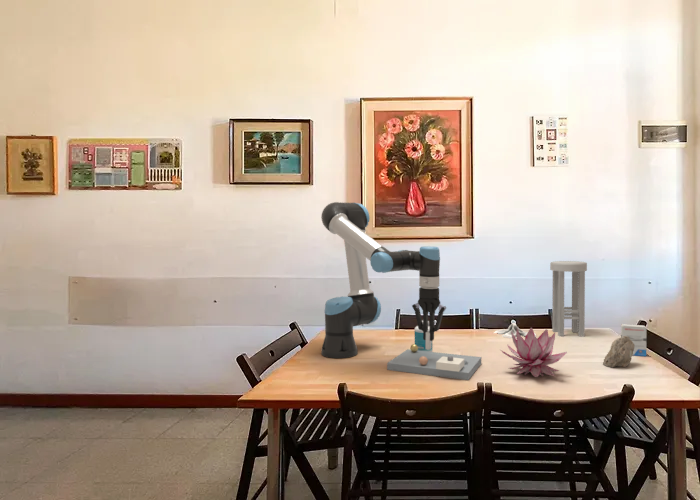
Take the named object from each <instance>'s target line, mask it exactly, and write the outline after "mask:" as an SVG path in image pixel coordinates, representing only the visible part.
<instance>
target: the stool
mask: <svg viewBox="0 0 700 500" xmlns="http://www.w3.org/2000/svg"><path fill="white" fill-rule="evenodd" d="M549 266H550V269H549V270H550V271H552V315H551V316H552V318H551V320H552V322H551V325H552V327H551V328H552V332H553V333H557V336H559V337H565V320H571V333H577V336H578V337H582V338H583V337H585V326H586V325H585V322H586V321H585V318H586V317H585V316H586V315H585V313H586V312H585V311H586V310H585V308H586V306H585V303H586V301H585V300H586V299H585V298H586V296H585V295H586V287H585V286H586V282H585V281H586V271H587V270H588V263H587V262H586V261H577V260H557V261H556V260H555V261H550V265H549ZM565 272H568V273H569V272H570V273H571V306H565Z"/></svg>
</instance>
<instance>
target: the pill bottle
mask: <svg viewBox="0 0 700 500" xmlns="http://www.w3.org/2000/svg"><path fill="white" fill-rule="evenodd" d="M422 323H423V319H422ZM428 331H430V320H428ZM414 344H416V345H417V346H418V350H419V351H428V352H433V343H432V344H431V349H430V350H427V349H426V340H424V339H423V331H422V330H419V328H418V325H416V326H415V327H414Z"/></svg>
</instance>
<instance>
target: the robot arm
mask: <svg viewBox="0 0 700 500" xmlns="http://www.w3.org/2000/svg"><path fill="white" fill-rule="evenodd" d="M370 218H371V217H370V213H369V210H368V208H367V207H366V206H364V204H362V203H359V202H339V201H335V202H331V203H328V204H327V205H326V206H325V207H324V208H323V209H322V211H321V221H322V225H323V227H324V228H325V229H326V230H328V231H329V232H330V233H331V234H333V235H338V236H339V237H340V238H341V239H342V240H343V241H344V249H345V258H346V259H345V260H346V265H347V266H346V267H347V274H348V275H347V276H348V281H349V283H348V284H349V289H350V290H349V291H350V292H349V293H348V294H347V296H336V297H332V298H329V299H328V300H327V301H326V302H325V305H324V319H325V320H324V322H325V323H324V329H325V333H324V334H325V335H324V336H325V337H324V340H323V342H322V346H321V355H322V356H323V357H324V358H331V359H344V358H352V357H354V356H356V355H358V347H357V343H356V341H355V337H354V327H357V326H362V325H370V324H372V323H374V322H376V321H377V320H378V319H379V317H380V315H381V312H382V305H381V302H380V300H379V299H378V297H377V296H375V293H374V291H373V290H372V289H371V288H370V282H369V281H370V280H369V274H368V273H369V272H368V265H367V260H368V261H369V262H370V266H371V269H372V270H373V271H374V272H375V273H382V274H384V273H385V274H386V273H390V272H391V273H392V272H400V271H417V272H418V271H419V272H418V273H419V275H418V276H419V277H418V278H419V279H418V280H419V288H418V300H417V302H416V303H414V304H411V307H412V309H413V311H414V314H415V318H416V324H417V326H418V328H419V330H422V331H423V339H424V340H426V349H427V350H430V349H431V344H432V345H433V341H434V340H435V332H438V331H439V330H440V327H441V323H442V319H443V316H444V313H445V311H446V309H447V307H446V305H445V306H444V305H443V304H441V301H440V288H439V287H440V266H441V265H440V264H441V263H440V262H441V256H440V248H439V247H438V246H430V245H428V246H420V247H419V250H417V251H416V250H408V249H401V250H400V249H399V250H398V251H390V250H389V249H387V248H386V247H384V246H383V245H382V244H380V243H379V242H378V241H376V240H375V239H374V238H373V237H371V236H370V235H369V234H368V233H366V231H367V230H366V228H367V227H368V226H369V222H370ZM420 308H421V310H422V315H421V310H420ZM437 309H438V313H437V317H436V315H435V314H436V310H437ZM435 317H436V318H435ZM435 319H436V321H435ZM422 320H423V323H422ZM428 321H429V325H428ZM428 326H430V331H428Z"/></svg>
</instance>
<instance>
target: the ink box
mask: <svg viewBox="0 0 700 500" xmlns="http://www.w3.org/2000/svg"><path fill="white" fill-rule="evenodd" d="M620 332H621V333H620V337H622V336H628V337H629V338H630V340H632V342H633V343H634V345H635V346H634V351H633V354H632V356H633V357H634V356H636V357H647V339H648V338H647V335H648V334H647V332H648V331H647V327H646V326H645V325H641V324H640V325H638V324H625V323H621V325H620Z"/></svg>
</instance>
